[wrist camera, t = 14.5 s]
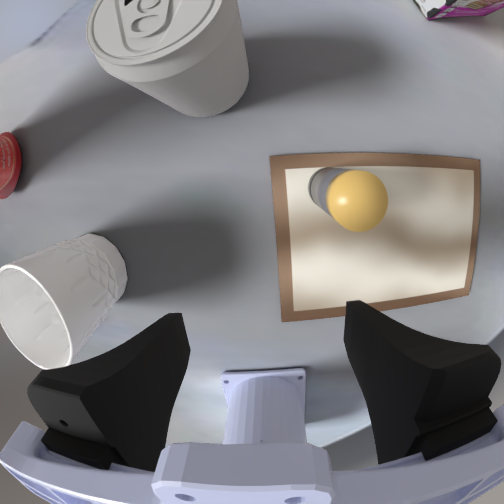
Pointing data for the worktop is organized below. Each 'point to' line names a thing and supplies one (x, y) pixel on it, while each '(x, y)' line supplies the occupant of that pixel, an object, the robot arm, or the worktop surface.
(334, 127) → the worktop surface
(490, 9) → the candy bar box
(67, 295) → the white cup
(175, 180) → the worktop surface
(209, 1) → the beverage can
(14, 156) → the liquor
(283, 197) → the writing board
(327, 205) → the grey yellow rounded cylinder
